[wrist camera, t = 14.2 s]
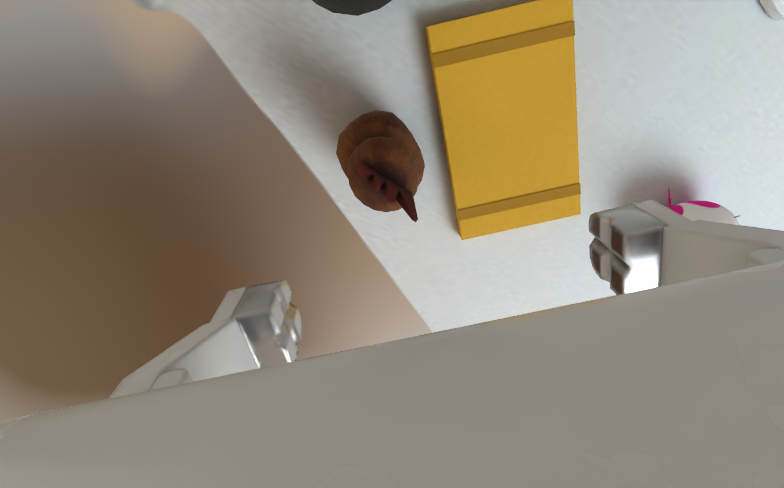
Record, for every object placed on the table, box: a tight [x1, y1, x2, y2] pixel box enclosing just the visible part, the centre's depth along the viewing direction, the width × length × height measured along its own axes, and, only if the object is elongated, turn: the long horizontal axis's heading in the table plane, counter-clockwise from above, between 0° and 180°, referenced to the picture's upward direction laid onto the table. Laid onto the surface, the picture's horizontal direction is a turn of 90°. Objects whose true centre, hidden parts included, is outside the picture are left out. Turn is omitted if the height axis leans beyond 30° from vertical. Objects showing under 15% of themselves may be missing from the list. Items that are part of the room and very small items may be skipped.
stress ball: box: [669, 191, 741, 225], centre depth 40 cm, size 8×8×7 cm
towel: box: [425, 0, 581, 240], centre depth 37 cm, size 11×18×1 cm, turn 12°
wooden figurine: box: [336, 110, 424, 222], centre depth 30 cm, size 7×6×15 cm
